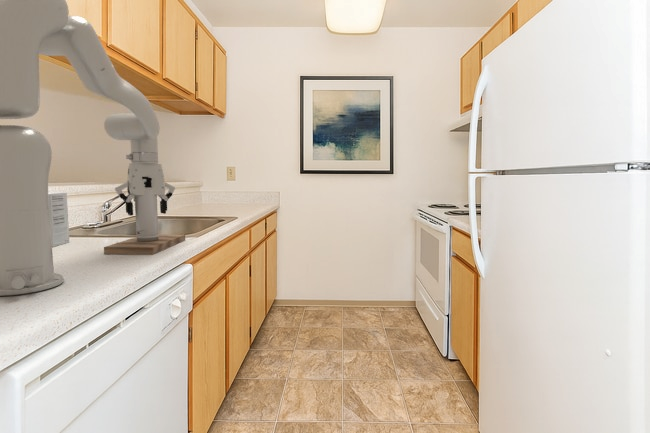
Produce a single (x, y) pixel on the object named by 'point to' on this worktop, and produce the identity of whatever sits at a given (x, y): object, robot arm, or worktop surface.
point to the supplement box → (58, 218)
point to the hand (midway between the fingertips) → (147, 214)
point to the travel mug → (146, 214)
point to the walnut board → (144, 245)
